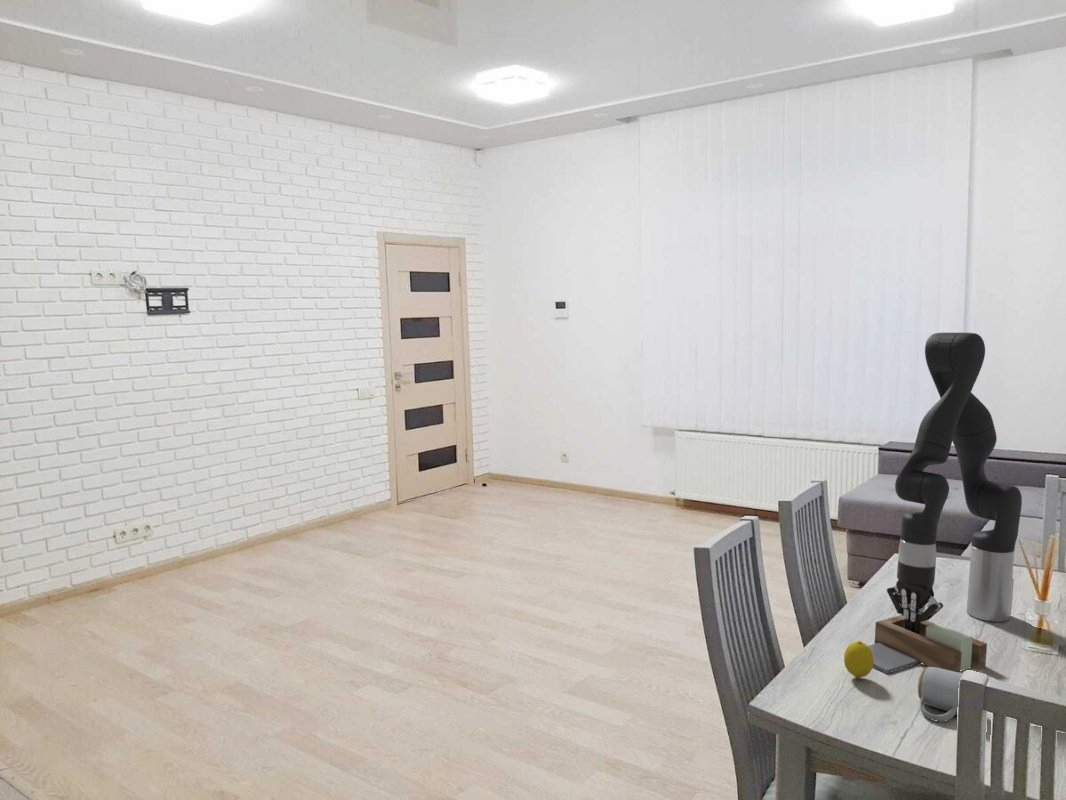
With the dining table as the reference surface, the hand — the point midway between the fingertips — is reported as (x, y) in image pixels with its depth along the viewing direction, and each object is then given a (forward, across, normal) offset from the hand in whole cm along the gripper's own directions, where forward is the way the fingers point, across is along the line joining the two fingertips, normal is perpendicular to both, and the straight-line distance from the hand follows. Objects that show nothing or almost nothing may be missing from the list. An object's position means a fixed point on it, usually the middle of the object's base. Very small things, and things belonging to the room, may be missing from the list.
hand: (911, 635), depth 180 cm
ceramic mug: (+3, -22, +19) cm, 29 cm away
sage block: (+3, -9, 0) cm, 9 cm away
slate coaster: (+3, -1, +11) cm, 11 cm away
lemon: (+3, -5, +23) cm, 23 cm away
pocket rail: (+3, -4, 0) cm, 5 cm away
